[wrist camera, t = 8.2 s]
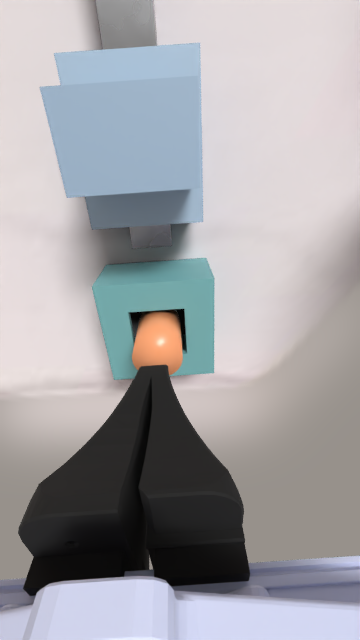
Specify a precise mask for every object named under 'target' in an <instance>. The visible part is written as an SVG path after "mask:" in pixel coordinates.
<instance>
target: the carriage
mask: <svg viewBox="0 0 360 640" xmlns="http://www.w3.org/2000/svg"><path fill="white" fill-rule="evenodd" d="M54 56H55V60H56V65H57V70H58V74H59V79H60V84H61V85H59V86H45V87H40V90H41V94H42V98H43V102H44V107H45V111H46V115H47V119H48V123H49V127H50V131H51V135H52V139H53V143H54V147H55V151H56V155H57V159H58V163H59V168H60V172H61V176H62V180H63V184H64V188H65V192H66V196H67V198H70V197H84V196H85V200H86V204H87V209H88V214H89V218H90V223H91V227H92V230H94V229H109V228H123V227H137V226H152V225H166V224H180V223H195V222H203V181H202V125H201V68H200V43H189V44H175V45H161V46H147V47H133V48H119V49H105V50H91V51H77V52H63V53H54Z"/></svg>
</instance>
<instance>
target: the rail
mask: <svg viewBox="0 0 360 640" xmlns="http://www.w3.org/2000/svg"><path fill="white" fill-rule="evenodd" d="M95 1H96V7H97V14H98V21H99V27H100V34H101V41H102V48H103V50H105V49H119V48H133V47H147V46H157V37H156V23H155V10H154V0H95ZM129 229H130V236H131V243H132V249H133V248H148V247H162V246H172V236H171V224H166V225H152V226H137V227H129Z"/></svg>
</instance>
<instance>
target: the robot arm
mask: <svg viewBox="0 0 360 640" xmlns="http://www.w3.org/2000/svg"><path fill="white" fill-rule="evenodd" d="M243 514H244V508H243V504H242V500H241V497H240V494H239V492H238V490H237V488H236V485H235V483H234V481H233V479H232V477H231V475H230V473H229V471H228V470H227V469H226V468H225V467H224V466H223V465H222V463H221V462H220V461H219V460H218V459H217V458H216V457H215V456H214V455H213V453H212V452H211V451H210V450H209V449H208V447H207V446H206V444H205V443H204V442H203V440H202V439H201V438H200V436H199V435H198V434H197V432H196V431H195V429H194V428H193V426H192V425H191V423H190V422H189V420H188V418H187V417H186V415H185V413H184V411H183V409H182V407H181V405H180V403H179V401H178V399H177V397H176V394H175V392H174V389H173V387H172V384H171V381H170V377H169V369H168V366H167V365H152V366H141V367H140V368H139V369H138V372H137V374H136V376H135V378H134V380H133V381H132V383H131V385H130V387H129V388H128V390H127V392H126V393H125V395H124V397H123V398H122V400H121V401H120V403H119V404H118V405H117V407H116V409H115V410H114V411H113V413H112V414H111V415H110V417H109V418H108V419H107V420H106V422H105V423H104V424H103V425H102V427H101V428H100V429H99V430H98V431H97V432H96V433H95V434H94V436H93V437H92V438H91V439H90V440H89V441H88V442H87V443H86V444H85V445H84V446H83V447H82V448H81V449H80V450H79V451H78V452H77V453H76V454H75V455H73V456H72V457H71V458H70V459H69V460H68V461H67V462H66V463H65V464H64V465H62V466H61V467H60V468H59V469H57V470H56V471H55V472H54V473H52V474H51V475H50V476H49V477H47V478H46V479H45V480H44V481H42V482H41V483H40V484H39V486H38V487H37V489H36V491H35V493H34V495H33V497H32V499H31V501H30V503H29V505H28V507H27V510H26V512H25V515H24V517H23V519H22V522H21V524H20V526H19V532H18V534H19V536H20V538H21V540H22V542H23V543H24V544H25V546H26V547H27V548H28V549H29V551H30V552H31V554H32V555H33V556H34V558H33V561H32V564H31V567H30V570H29V572H28V575H27V578H21V579H6V580H0V640H360V555H359V556H346V557H345V556H344V557H330V558H315V559H300V560H286V561H271V562H256V563H248V560H247V554H246V549H245V544H244V543H245V538H244V533H243V528H242V523H243ZM149 555H150V559H151V562H152V566H153V570H149Z"/></svg>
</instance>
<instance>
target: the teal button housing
mask: <svg viewBox="0 0 360 640" xmlns="http://www.w3.org/2000/svg"><path fill="white" fill-rule="evenodd" d="M92 290H93V294H94V298H95V302H96V306H97V311H98V315H99V319H100V323H101V327H102V331H103V336H104V340H105V344H106V348H107V352H108V356H109V361H110V365H111V369H112V373H113V377H114V380H118V379H133V378H135V376H136V374H137V372H138V370H137V369H136V368H135V366H134V364H133V361H132V353H133V348H134V343H135V338H134V333H133V327H132V321H131V316H130V312H142V311H156V310H171V309H184V313H185V329H186V334H181V339H182V354H183V360H182V364H181V366H180V368H179V369H178V370H177V371H176V372H175V373H173V374H172V375H170V376H177V375H191V374H206V373H214V276H213V274H212V271H211V269H210V266H209V264H208V261H207V259H206V258H197V259H182V260H168V261H153V262H139V263H125V264H110V265H106V266H105V267H104V269H103V271H102V272H101V274H100V275H99V277H98V278H97V280H96V281H95V283H94V284H93V286H92Z"/></svg>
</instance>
